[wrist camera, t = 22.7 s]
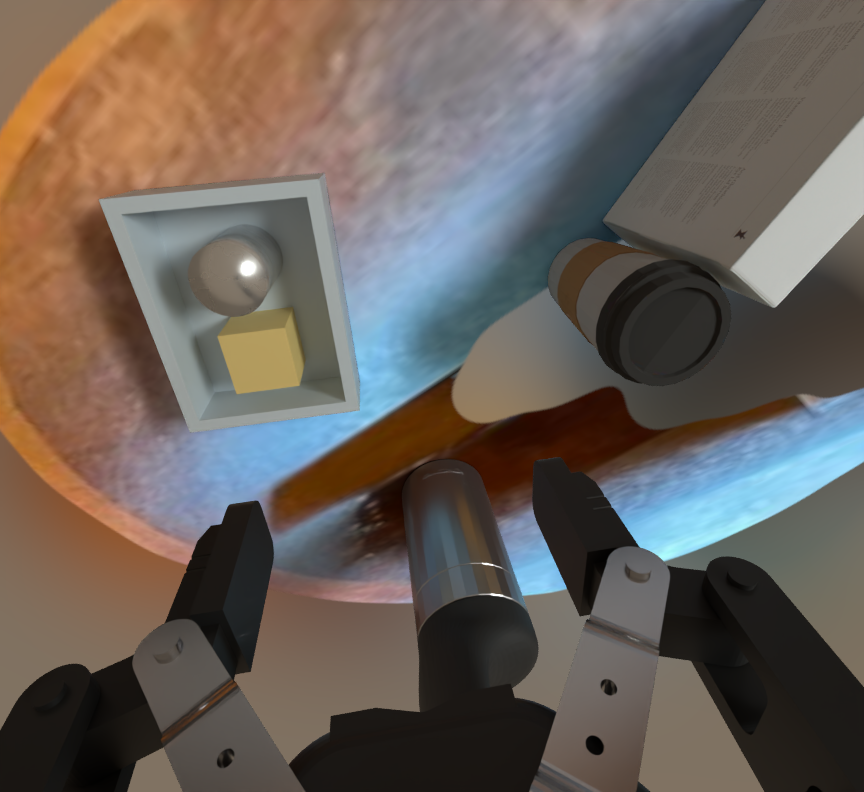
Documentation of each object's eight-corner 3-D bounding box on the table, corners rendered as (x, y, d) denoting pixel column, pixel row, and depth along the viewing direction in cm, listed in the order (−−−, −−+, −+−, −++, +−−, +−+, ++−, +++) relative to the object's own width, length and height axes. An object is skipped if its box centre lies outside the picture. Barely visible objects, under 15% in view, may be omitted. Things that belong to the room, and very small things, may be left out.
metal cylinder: (274, 221, 37) (256, 239, 31) (288, 284, 39) (274, 312, 33) (208, 227, 36) (177, 246, 30) (227, 291, 39) (201, 320, 33)
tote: (359, 381, 45) (359, 410, 40) (208, 400, 44) (190, 432, 39) (324, 172, 36) (319, 178, 31) (134, 190, 35) (98, 199, 30)
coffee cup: (517, 293, 43) (584, 362, 30) (571, 206, 40) (673, 242, 27) (586, 331, 46) (676, 410, 33) (642, 253, 43) (766, 306, 30)
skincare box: (641, 255, 43) (774, 313, 29) (598, 221, 41) (720, 266, 27) (837, 11, 36) (1139, -66, 22) (797, -45, 34) (1101, -168, 20)
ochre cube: (293, 306, 40) (284, 327, 36) (305, 360, 43) (299, 385, 38) (233, 314, 40) (217, 336, 36) (249, 367, 42) (236, 394, 38)
